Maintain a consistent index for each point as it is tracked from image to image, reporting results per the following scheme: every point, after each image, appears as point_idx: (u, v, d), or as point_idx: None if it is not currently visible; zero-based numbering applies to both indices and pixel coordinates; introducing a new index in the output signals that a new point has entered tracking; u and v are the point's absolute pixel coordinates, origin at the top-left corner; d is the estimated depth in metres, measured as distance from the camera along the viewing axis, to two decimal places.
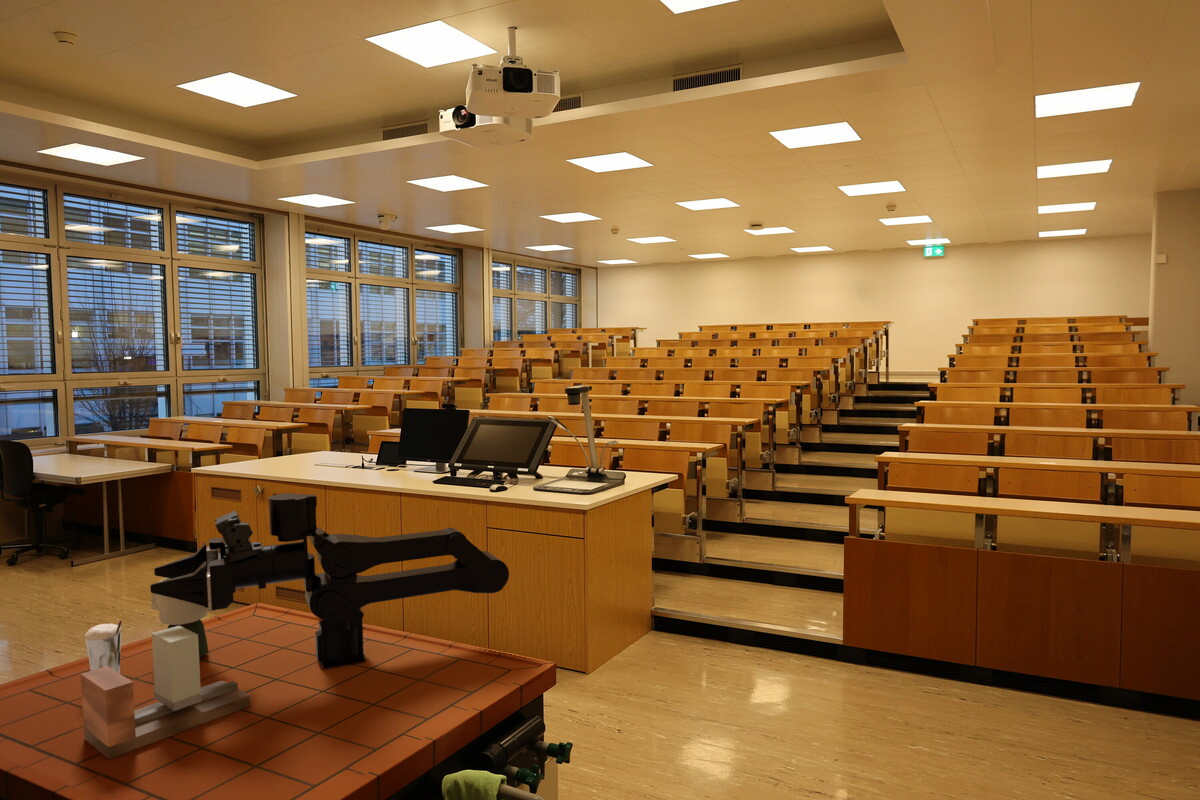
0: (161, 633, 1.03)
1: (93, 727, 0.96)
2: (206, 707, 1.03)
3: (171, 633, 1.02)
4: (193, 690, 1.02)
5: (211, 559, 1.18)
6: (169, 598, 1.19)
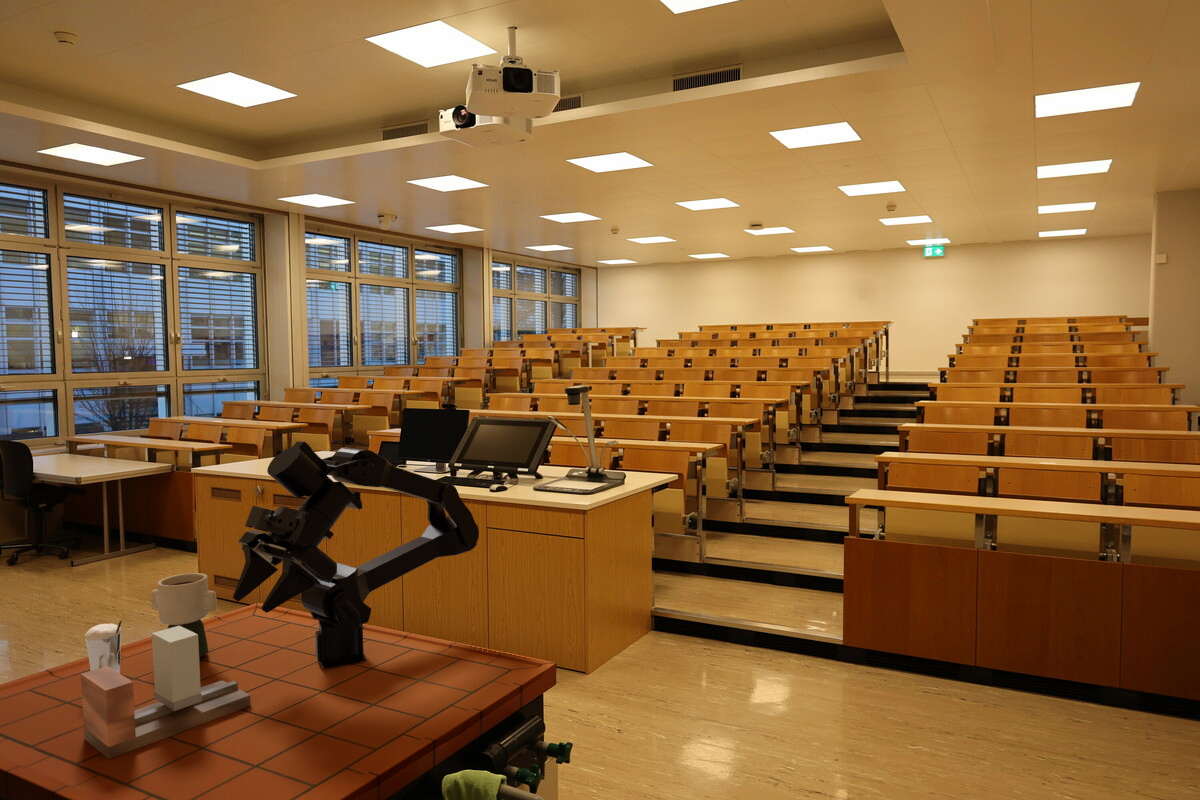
0: (161, 633, 1.03)
1: (93, 727, 0.96)
2: (206, 707, 1.03)
3: (171, 633, 1.02)
4: (193, 690, 1.02)
5: (263, 553, 1.17)
6: (169, 598, 1.19)
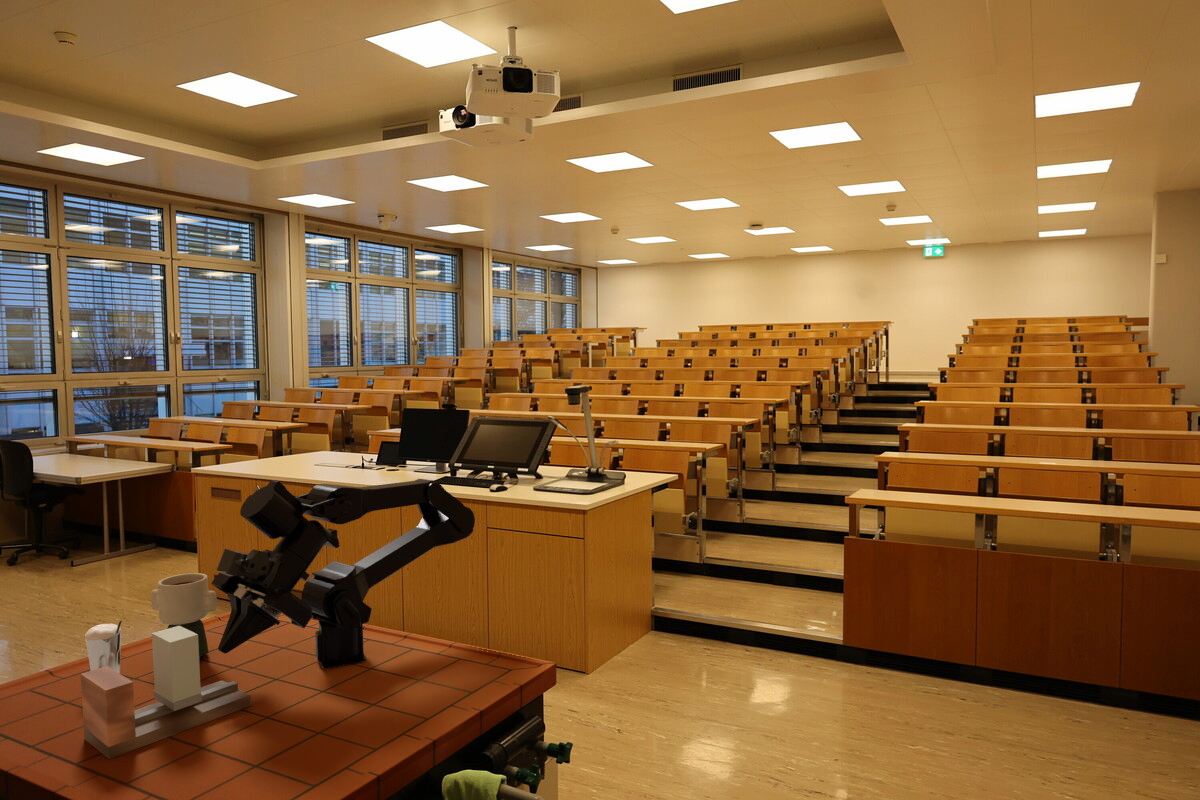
0: (161, 633, 1.03)
1: (93, 727, 0.96)
2: (206, 707, 1.03)
3: (171, 633, 1.02)
4: (193, 690, 1.02)
5: (250, 600, 1.11)
6: (169, 598, 1.19)
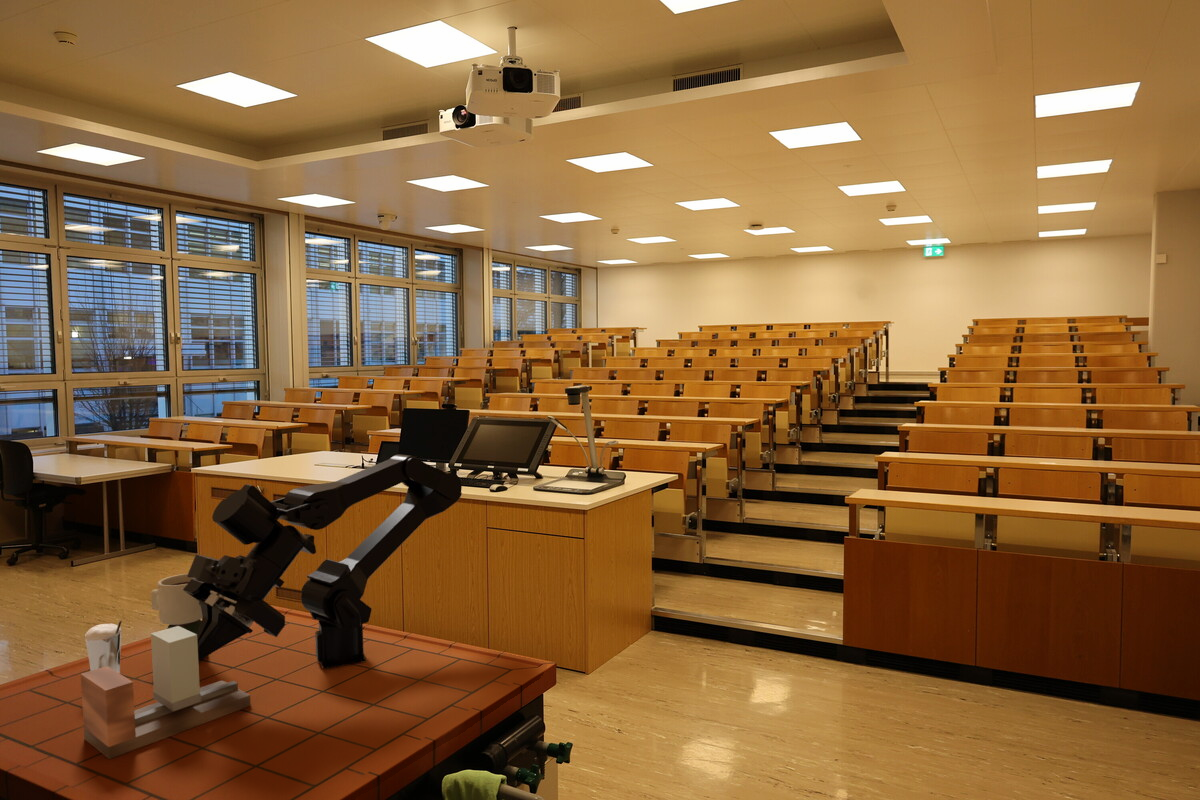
0: (160, 633, 1.02)
1: (93, 727, 0.96)
2: (206, 707, 1.03)
3: (170, 634, 1.02)
4: (192, 690, 1.02)
5: (222, 607, 1.08)
6: (169, 598, 1.19)
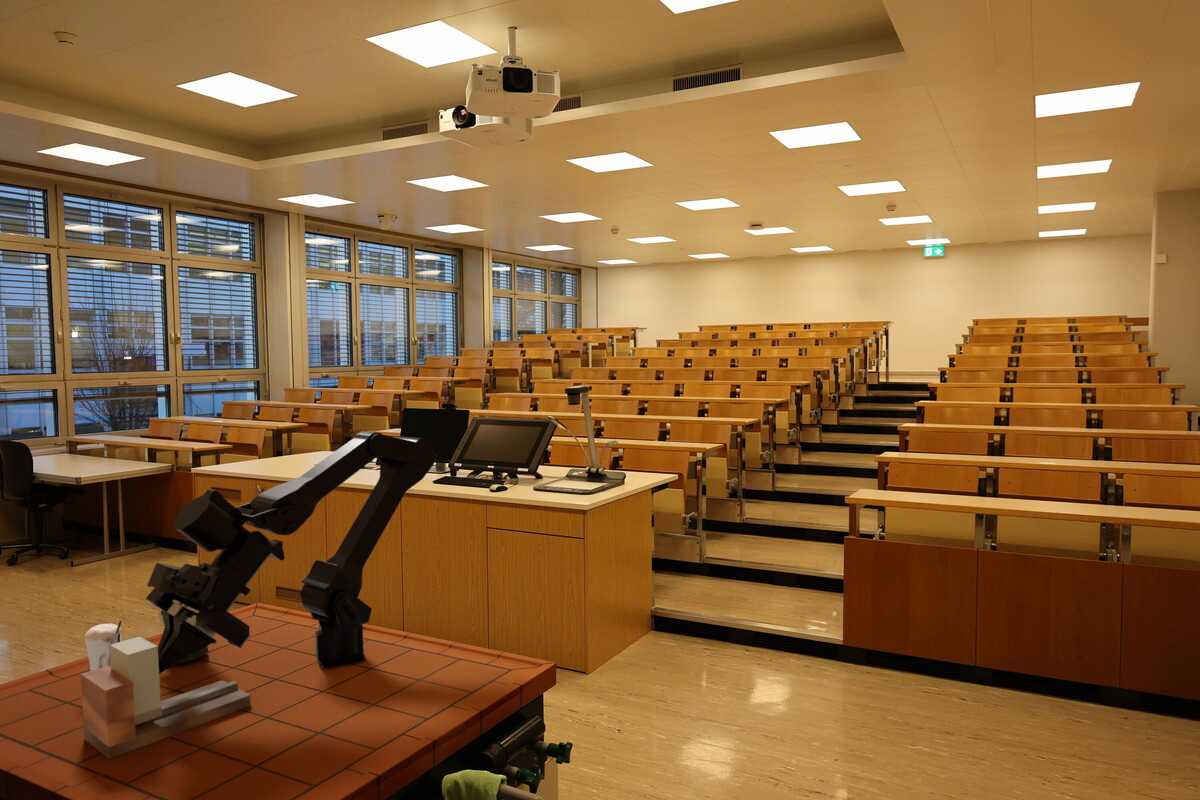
0: (119, 645, 0.99)
1: (93, 727, 0.96)
2: (206, 707, 1.03)
3: (129, 645, 0.98)
4: (152, 704, 0.98)
5: (185, 617, 1.04)
6: None
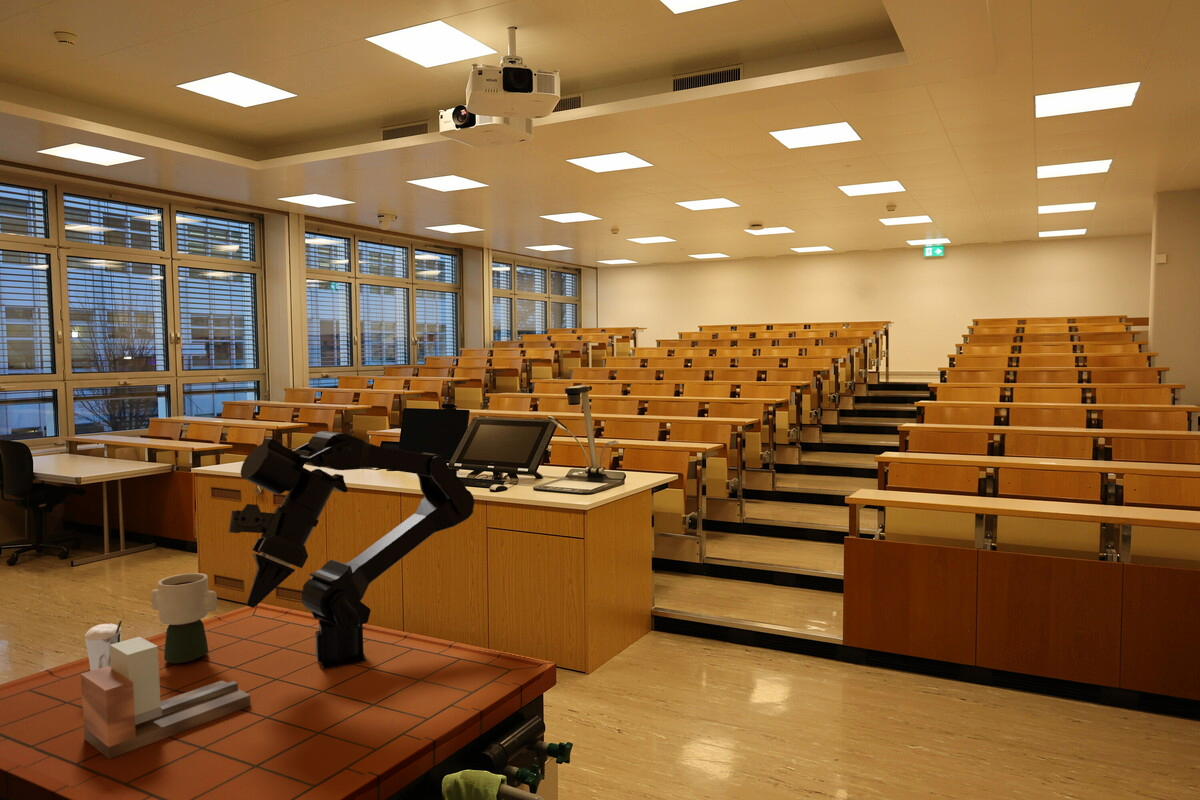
0: (119, 645, 0.99)
1: (93, 727, 0.96)
2: (206, 707, 1.03)
3: (129, 645, 0.98)
4: (152, 704, 0.98)
5: None
6: (169, 598, 1.19)
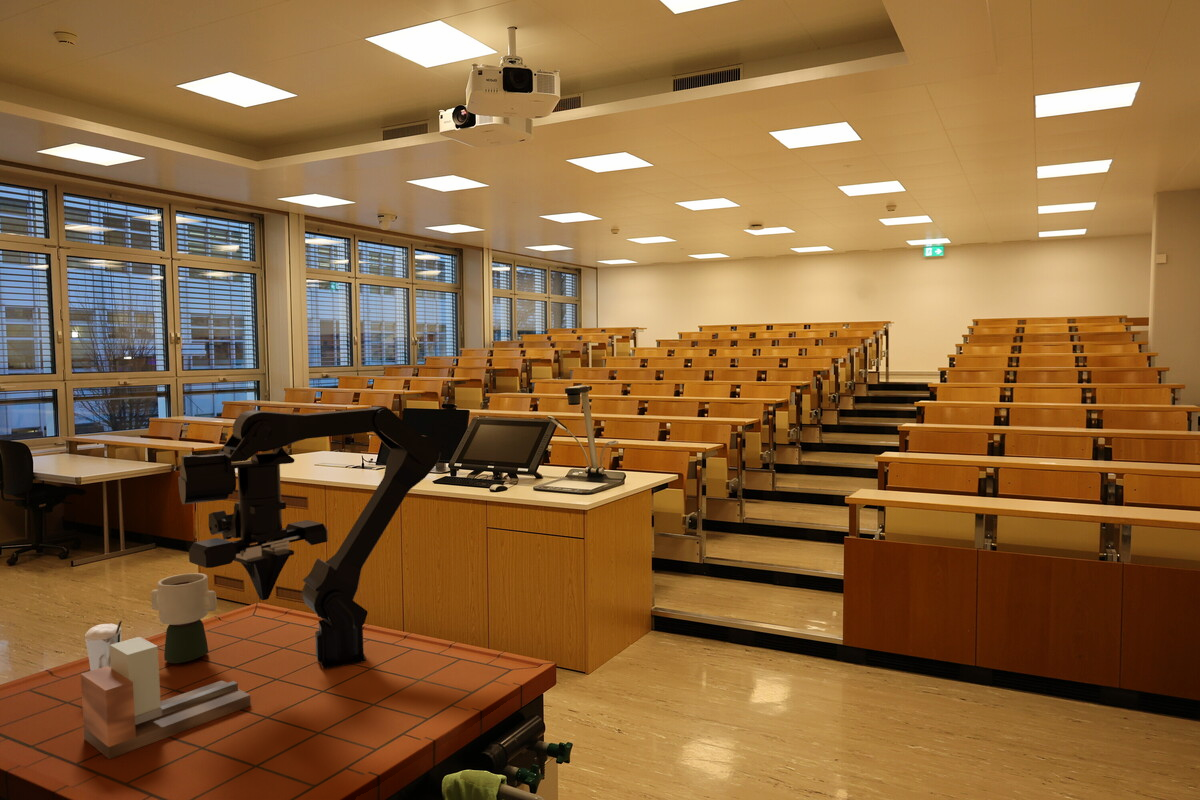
0: (119, 645, 0.99)
1: (93, 727, 0.96)
2: (206, 707, 1.03)
3: (129, 645, 0.98)
4: (152, 704, 0.98)
5: None
6: (169, 598, 1.19)
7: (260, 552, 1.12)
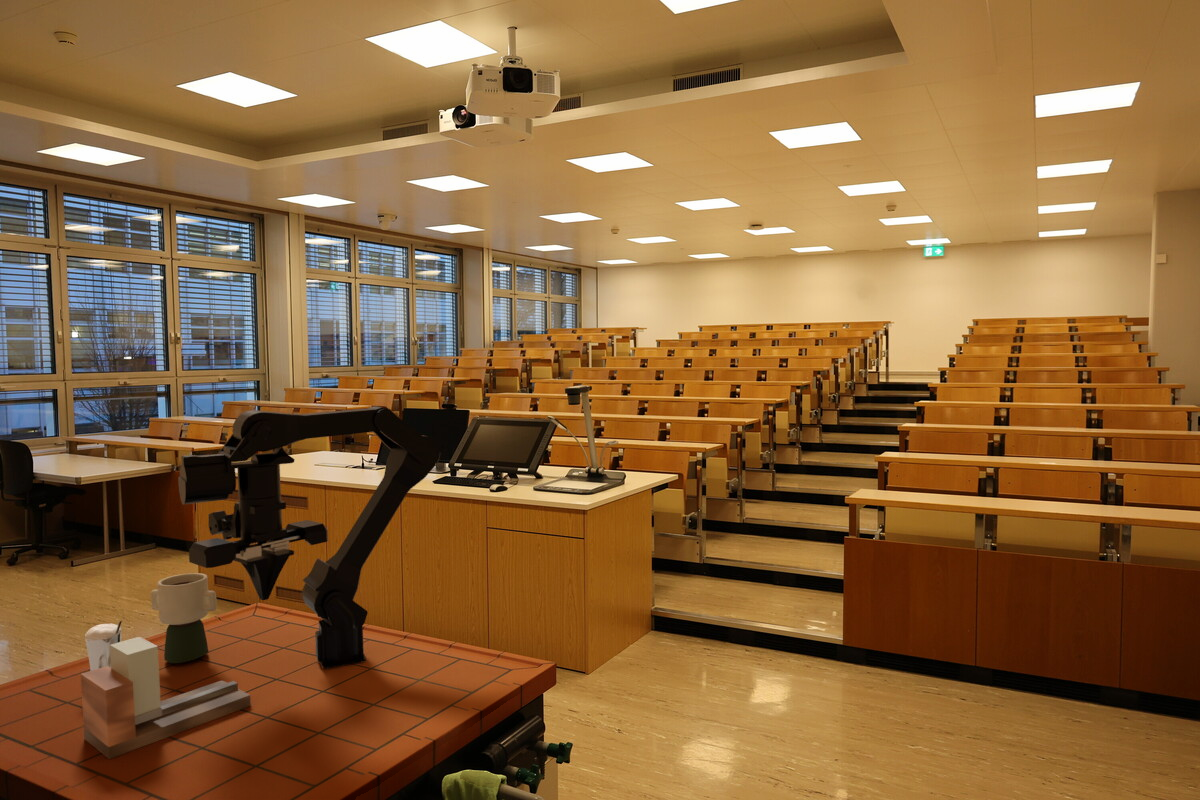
0: (119, 645, 0.99)
1: (93, 727, 0.96)
2: (206, 707, 1.03)
3: (129, 645, 0.98)
4: (152, 704, 0.98)
5: None
6: (169, 598, 1.19)
7: (260, 552, 1.12)
